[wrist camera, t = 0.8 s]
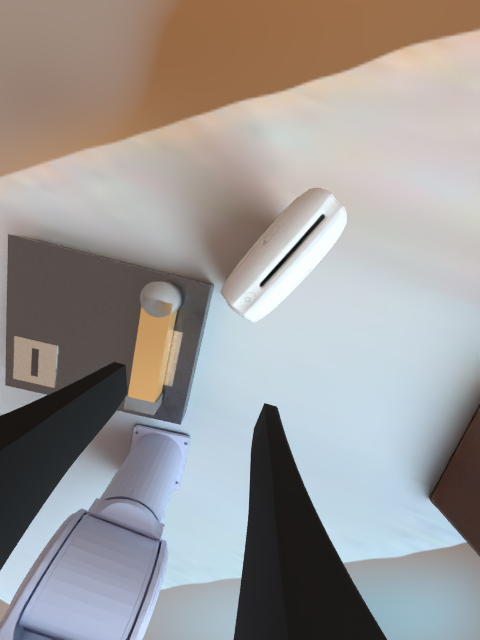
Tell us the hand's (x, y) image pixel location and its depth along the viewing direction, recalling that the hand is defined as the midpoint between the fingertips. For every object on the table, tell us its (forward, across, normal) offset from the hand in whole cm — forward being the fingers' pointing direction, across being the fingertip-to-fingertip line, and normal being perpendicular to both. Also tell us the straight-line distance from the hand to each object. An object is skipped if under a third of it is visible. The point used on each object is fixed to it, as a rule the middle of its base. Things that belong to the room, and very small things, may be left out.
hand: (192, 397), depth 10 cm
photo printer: (+18, -2, -4) cm, 18 cm away
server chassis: (+13, +14, +8) cm, 21 cm away
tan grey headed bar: (+11, +7, +7) cm, 15 cm away
